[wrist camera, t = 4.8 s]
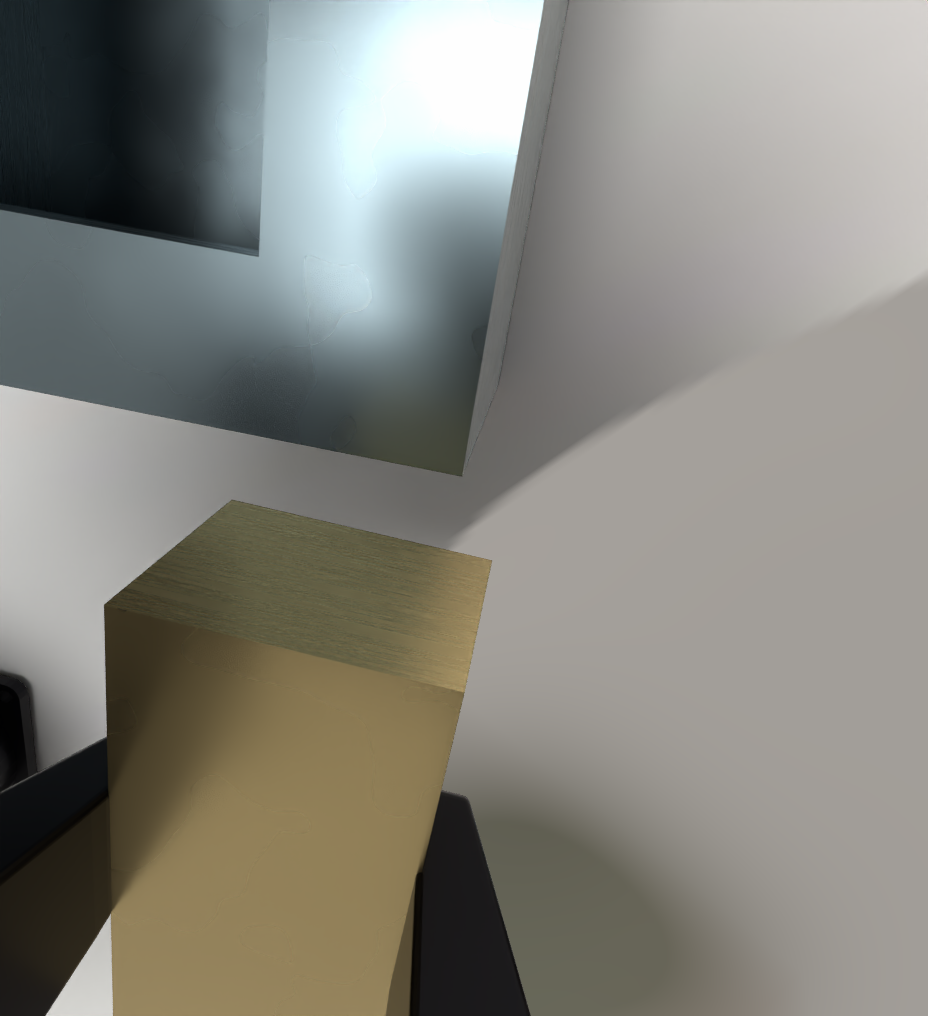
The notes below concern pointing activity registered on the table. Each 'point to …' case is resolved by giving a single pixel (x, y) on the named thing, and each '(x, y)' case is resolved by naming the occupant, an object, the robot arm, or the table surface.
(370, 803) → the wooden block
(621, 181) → the table surface
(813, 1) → the table surface
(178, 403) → the box
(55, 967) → the robot arm
